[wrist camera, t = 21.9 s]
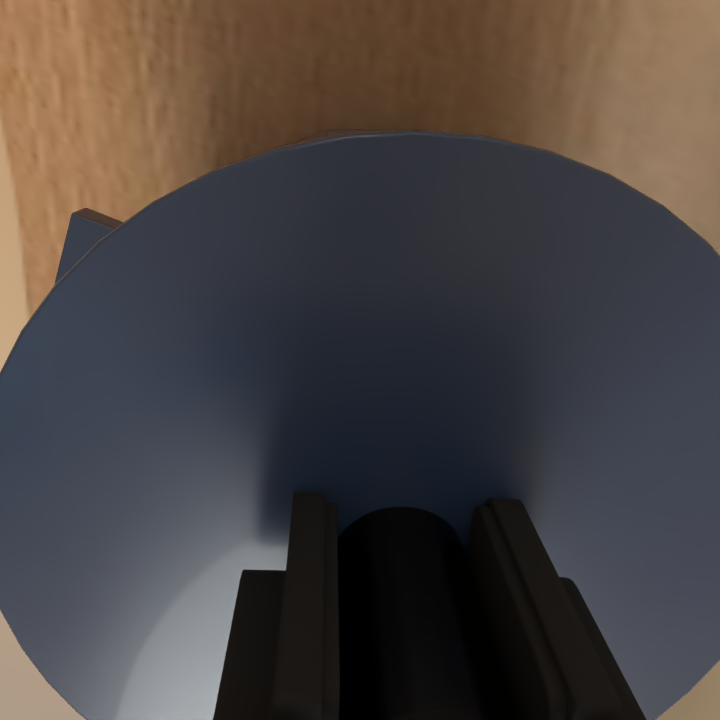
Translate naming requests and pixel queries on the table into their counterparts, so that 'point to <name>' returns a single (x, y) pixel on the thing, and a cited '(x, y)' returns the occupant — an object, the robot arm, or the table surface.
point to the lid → (366, 422)
